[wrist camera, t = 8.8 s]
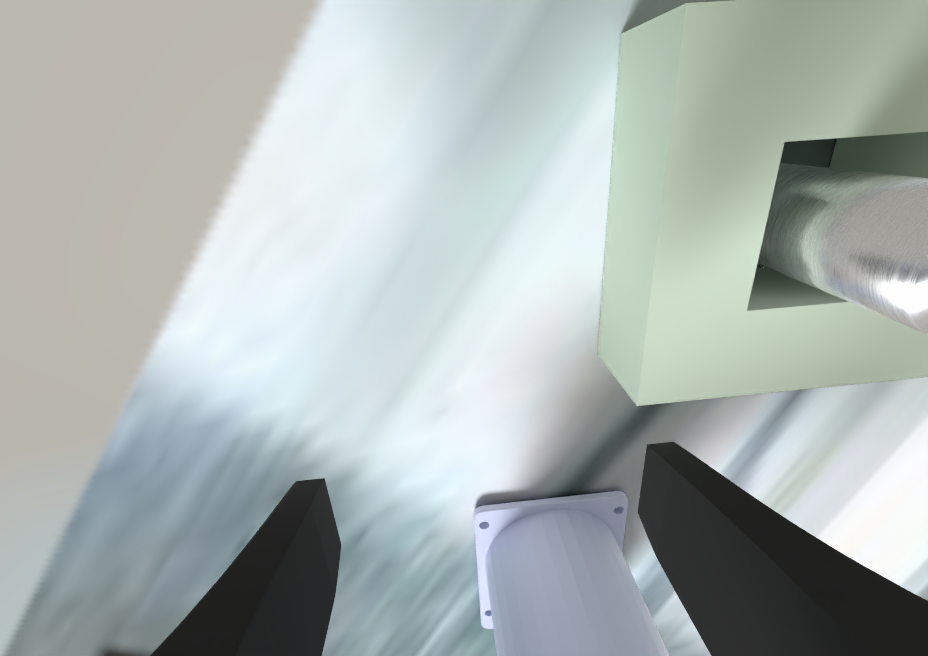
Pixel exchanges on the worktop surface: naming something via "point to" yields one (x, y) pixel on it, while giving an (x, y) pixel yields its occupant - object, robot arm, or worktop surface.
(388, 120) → the worktop surface
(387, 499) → the worktop surface
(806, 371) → the hole block
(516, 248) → the worktop surface
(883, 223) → the long pin
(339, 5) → the worktop surface
